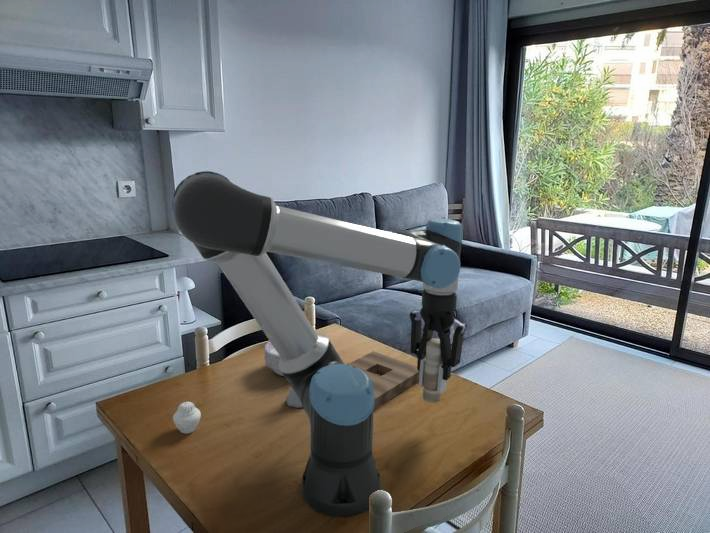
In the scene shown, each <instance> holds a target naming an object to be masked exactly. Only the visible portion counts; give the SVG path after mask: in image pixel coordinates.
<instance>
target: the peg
mask: <svg viewBox="0 0 710 533" xmlns="http://www.w3.org/2000/svg"><path fill="white" fill-rule="evenodd" d="M440 365H442V356H441V347H440V338H434V337H432V338H431V339H429V340H427V346H426V360H425V374H424V383H423V386H422V387H423V390H422V392H423V393H422V399H423V400H424V401H425V402H428V403H431V404H434V403H435V404H436V403H439V402H440V401H441V396H442V395H441V394H442V393H441V394H439V393H437V387H438V374H439V366H440Z"/></svg>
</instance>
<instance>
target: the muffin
mask: <svg viewBox="0 0 710 533" xmlns="http://www.w3.org/2000/svg"><path fill="white" fill-rule="evenodd" d="M201 417H202V413H201V411H200V409H199V408H197V407H196V406H195V404H194V402H191V401H184V402H182V403H180V404H178V407H177V410H176V411H175V412H174V414H173V416H172V420H173V422H174V425H175V426H176V428H177V429H178V430H179V432H180V433H181V434H192V433H193V432H195V431H196V428H197V427H198V425H199V423H200V420H201Z"/></svg>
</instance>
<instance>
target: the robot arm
mask: <svg viewBox="0 0 710 533" xmlns="http://www.w3.org/2000/svg"><path fill="white" fill-rule="evenodd" d="M171 204H172V205H171V206H172V211H173V217H174V218H173V219H174V221H175V224H176V227H177V228H178V230H179V232H180V233H181V234H182V235H183V236H184V237H185V238H186V239H187V240H188V241H190V242H191V243H192V244H193V245H194V247H195V249H196V250H197V252H199V254H200V255H201V258H203V259H204V260H205V261H209V262H215V263H216V264H217V265H218V267H219V268H220V270H221V271H222V272H223V274H224V275H225V277H226V279H227V280H228V281H229V283H230V285H231V286H232V287H233V289H234V290H235V292H236V293H237V295H238V297H239V298H240V299H241V301H242V303H244V305H245V307H246V308H247V310H248V311H249V313H250V314H251V315H252V317H253V319H254V320H255V322H257V325H258V326H259V328H261V330H262V332H263V333H264V335H265V336H266V338H267V339H268V340H269V341H270V342H271V344H272V345H273V346H274V348H275V349H276V351H277V352H278V354H279V355H280V360H279V369H280V370H281V372H282V373H283V375H284V376H283V377H284V378H285V380H287V382H288V383H289V385H290V388H291V387H292V388H293V390H294V391H295V393H296V394H297V396H298V398H299V400H300V401H301V403H302V405H303V407H302V408H303V409H304V412H305V414H306V415H307V418H308V420H309V426H310V428H309V429H310V430H309V431H310V454H309V457H308V460H307V463H306V465H305V468H304V471H303V474H302V479H301V494H302V498H303V500H304V501H305V503H306V504H307V505H308V506H309V507H310V508H311V509H313V510H314V511H316V512H318V513H319V514H320V513H321V514H323V515H326V516H332V517H338V518H340V517H341V518H342V517H343V518H344V517H345V518H346V517H352V516H355V515H358V514H362V513H364V512H366V511H368V510H369V509H370V508H369V497H370V495H371V494H372V493H373V492H375V491H377V490H380V491H381V488H382V487H381V484H382V483H381V482H382V480H381V474H380V472H379V469H378V468H377V466H376V460H375V456H374V455H373V439H374V438H373V436H374V415H375V414H374V412H375V410H374V404H375V403H374V401H375V396H374V392H373V384H372V381H371V379H370V377H369V376H368V375H367V374H366V373H365V372H364V371H362V370H361V369H359V368H353V366H350V365H347V364H345V362H344V361H343V359H342V358H341V356H340V355H339V353H338V352H337V350H336V348H335V347H334V345H333V344H332V342H331V340H330V338H329V337H328V336H327V335H326V334H324V333H320V332H319V333H318V332H316V330H315V329H314V328H313V325H312V324H311V322H310V320H309V319H308V318H307V316H306V314H305V313H304V311H303V309H302V308H301V306H300V304H299V303H298V301H297V300H296V298H295V297H294V295H293V293H292V292H291V290H290V288H289V287H288V285H287V284H286V282H285V281H284V280H283V277H282V276H281V274H280V273H279V271H278V269H277V268H276V266H275V265H274V263H273V261H272V260H271V259H270V257H269V255H268V254H267V253H268V252H269V253H274V254H277V255H278V254H279V255H284V256H289V257H295V258H299V259H303V260H310V261H315V262H320V263H325V264H331V265H336V266H340V267H346V268H352V269H356V270H362V271H367V272H371V273H378V274H383V275H388V276H394V277H399V278H403V279H407V280H412V281H417V282H421V283H422V288H423V290H422V292H421V306H422V307H421V308H420V310H418V309H417V310H413V311H411V312H410V313H409V319H410V322H411V323H410V324H411V326H410V354H413V355H415V356H416V357H417V363H416V366H417V370H418V371H420V376H419V381H418V386H419V387H421V388H422V387H423V383H424V374H425V360H426V346H427V340H429V339H432V338H433V333H434V331H435V332H436V333H437V338H438V339H440V347H441V356H442V365H440V366H439V374H438V387H437V393H439V394H442V393H444V392H446V391H447V381H448V380H449V379H451V373H452V368H455V367H456V366H458V365H460V364H461V358H462V350H463V341H464V334H465V331H466V330H467V328H468V324H467V323H465V322H461V321H459V320H458V319H457V316H456V308H457V301H458V300H457V299H458V293H457V290H458V287H459V274H460V271H461V252H462V244H463V225H462V223H461V222H459V221H457V220H453V219H450V218H449V219H448V218H432V219H428V221H427V222H426V227H425V229H421V230H418V229H415V230H392V229H390V230H382V229H377V228H372V227H370V226H365V225H361V224H356V223H353V222H347V221H343V220H339V219H335V218H332V217H331V218H330V217H326V216H322V215H320V214H314V213H309V212H304V211H301V210H297V209H292V208H289V207H284V206H281V205H280V206H279V205H277V204H276V202H275V201H274V199H273V197H270V196H266V195H261V194H258V193H255V192H252V191H249V190H247V189H244V188H242V187H240V186H239V185H236V184H235V183H233V182H232V181H230V179H229V178H227V177H226V176H225V175H224V174H221V173H218V172H215V171H209V170H206V171H198V172H195V173H193V174H190V175H187V177H185V178H183V180H181V181H180V182H179V184H177V186H176V188H175V190H174V192H173V195H172V200H171ZM422 322H423V323H424V326H423V325H422V324H423V323H422ZM422 326H423V328H422ZM452 326H453V329H452V330H453V336H452V343H451V333H452V332H451V327H452ZM269 341H268V342H269ZM368 508H369V509H368Z"/></svg>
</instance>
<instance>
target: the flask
mask: <svg viewBox="0 0 710 533" xmlns="http://www.w3.org/2000/svg"><path fill="white" fill-rule="evenodd" d="M285 401H286V405H287V406H288V407H292V408H297V409H299V408H303V405H302V403H301V401H300V400H299V398H298V396H297V394H296V393H295V391H294V390H293V388H292V387H291V386H290V389H289V391H288V394H287V396H286V398H285Z"/></svg>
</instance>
